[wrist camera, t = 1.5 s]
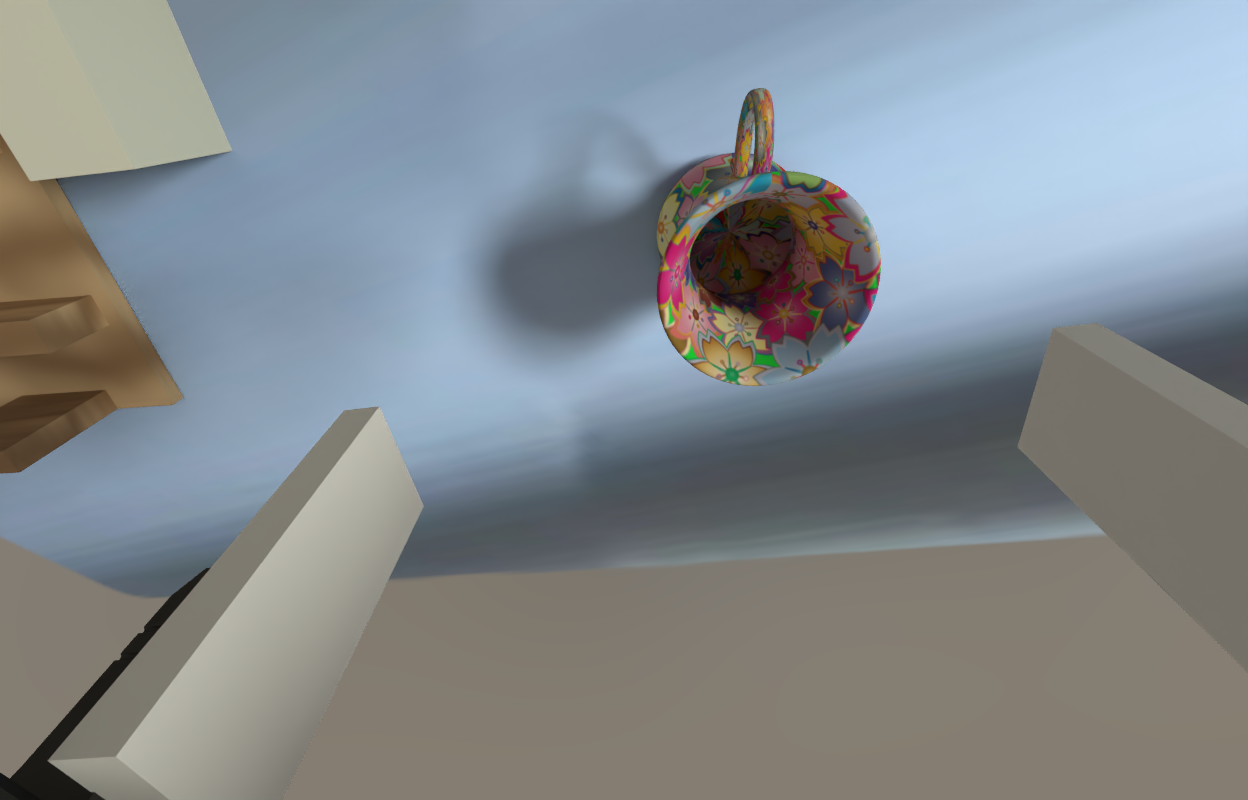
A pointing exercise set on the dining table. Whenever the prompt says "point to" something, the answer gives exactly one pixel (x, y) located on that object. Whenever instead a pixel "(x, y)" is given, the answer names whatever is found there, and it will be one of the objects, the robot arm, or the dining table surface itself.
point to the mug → (762, 262)
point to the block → (100, 88)
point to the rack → (62, 326)
